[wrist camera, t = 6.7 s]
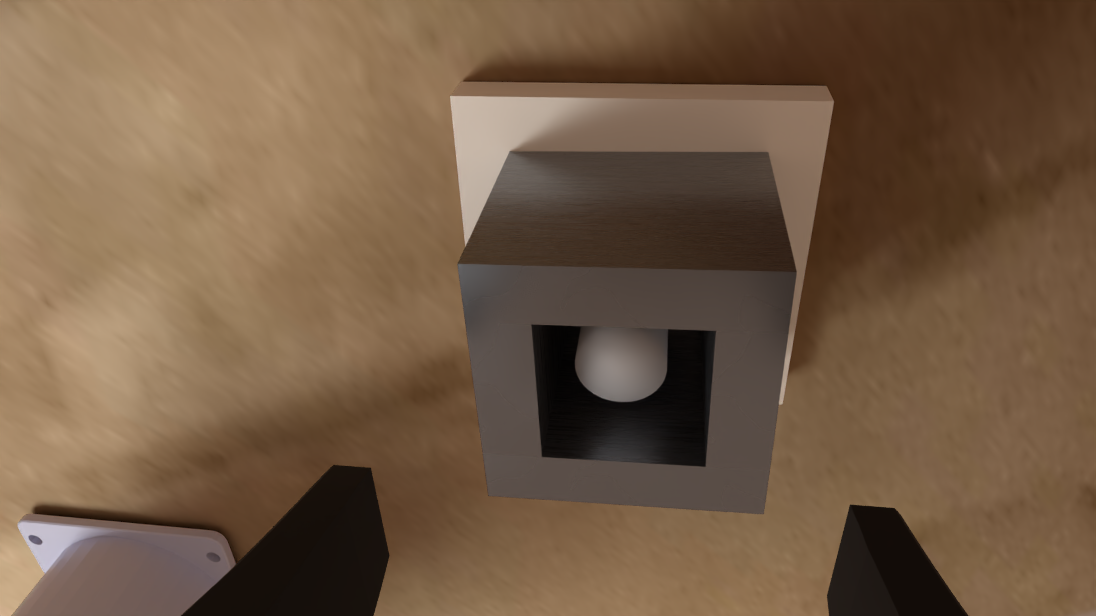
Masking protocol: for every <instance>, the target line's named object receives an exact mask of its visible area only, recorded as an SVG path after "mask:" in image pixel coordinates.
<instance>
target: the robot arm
mask: <svg viewBox="0 0 1096 616" xmlns="http://www.w3.org/2000/svg"><path fill="white" fill-rule="evenodd" d="M18 528H19V530H20V532H21V534H22V536H23V537H24V539H25V541H26V542H27V544H28V546H29V548H30V549H31V551H32V553H33V554H34V556H35V558H36V560H37V561H38V563H39V565H40V566H41V568H42V570H43V571H44V573H45V574H44V576H43V577H42V578H41V579H40V581H39V582H38V583H37V584H36V586H35V587H34V588H33V589H32V591H31V592H30V593H29V594H28V596H27V597H26V598H25V599H24V601H23V602H22V603H21V604H20V606H19V607H18V608H17V609H16V611H15V612H14V613H13V614H12V615H11V616H373V615H374V612H375V608H376V605H377V601H378V597H379V594H380V590H381V586H382V582H383V579H384V575H385V571H386V567H387V563H388V559H389V552H388V547H387V542H386V538H385V533H384V528H383V523H382V519H381V514H380V509H379V504H378V500H377V495H376V490H375V486H374V481H373V476H372V471H371V468H365V467H352V466H339V465H333V466H332V467H331V468H330V469H329V470H328V471H327V472H326V473H325V474H324V475H323V476H322V477H321V478H320V479H319V480H318V481H317V482H316V483H315V484H314V485H313V486H312V487H311V488H310V489H309V490H308V491H307V492H306V494H305V495H304V496H303V497H302V498H301V499H300V500H299V501H298V502H297V503H296V504H295V505H294V506H293V507H292V508H291V509H290V510H289V511H288V512H287V513H286V514H285V515H284V517H283V518H282V519H281V520H280V521H279V522H278V523H277V524H276V525H275V526H274V527H273V528H272V529H271V530H270V531H269V532H268V533H267V534H266V535H265V536H264V537H263V538H262V539H261V540H260V541H259V542H258V543H257V544H256V545H255V546H254V547H253V548H252V549H251V550H250V551H249V552H248V553H247V554H246V555H245V556H244V557H243V558H242V559H241V560H240V561H239V562H238V563H237V564H236V563H235V560H234V557H233V555H232V552H231V549H230V547H229V544H228V541H227V540H226V538H225V537H224V536H223V535H222V534H221V533H219V532H217V531H212V530H202V529H191V528H181V527H170V526H159V525H148V524H138V523H127V522H116V521H105V520H95V519H84V518H73V517H62V516H52V515H41V514H26V515H25V516H23V518H22V519H21V520H20V521H19V522H18ZM827 599H828V609H829V616H968V615H967V613H966V612H965V610H964V609H963V608H962V606H961V605H960V603H959V602H958V601H957V599H956V598H955V596H954V595H953V593H952V592H951V590H950V589H949V588H948V586H947V585H946V583H945V582H944V580H943V579H942V577H941V576H940V574H939V573H938V571H937V570H936V569H935V567H934V566H933V564H932V563H931V561H930V560H929V558H928V557H927V555H926V553H925V552H924V550H923V549H922V547H921V546H920V544H919V543H918V541H917V540H916V538H915V537H914V535H913V533H912V532H911V530H910V529H909V527H908V526H907V524H906V522H905V521H904V519H903V518H902V516H901V515H900V514H899V512H898V511H897V510H896V509H895V508H886V507H873V506H860V505H850V507H849V511H848V515H847V519H846V523H845V527H844V531H843V535H842V539H841V543H840V547H839V551H838V555H837V559H836V563H835V567H834V570H833V574H832V578H831V582H830V586H829V590H828V594H827Z"/></svg>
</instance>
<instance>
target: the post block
mask: <svg viewBox="0 0 1096 616" xmlns="http://www.w3.org/2000/svg"><path fill="white" fill-rule="evenodd" d="M450 100H451V110H452V119H453V129H454V139H455V149H456V159H457V169H458V178H459V188H460V198H461V208H462V218H463V228H464V238H465V247H466V244H467V242H468V240H469V238H470V236H471V234H472V232H473V229H474V227H475V225H476V223H477V221H478V219H479V216H480V214H481V212H482V210H483V208H484V206H485V203H486V201H487V199H488V197H489V195H490V193H491V190H492V188H493V186H494V184H495V182H496V180H497V177H498V175H499V173H500V171H501V169H502V167H503V165H504V162H505V160H506V158H507V156H508V154H509V152H510V151H578V152H768V153H769V157H770V161H771V165H772V169H773V174H774V178H775V182H776V186H777V190H778V195H779V199H780V203H781V207H782V211H783V216H784V220H785V224H786V228H787V232H788V237H789V241H790V245H791V249H792V253H793V258H794V262H795V266H796V270H797V275H796V283H795V290H794V297H793V304H792V312H791V319H790V326H789V334H788V341H787V348H786V355H785V363H784V370H783V377H782V385H781V392H780V399H779V404H783V399H784V393H785V387H786V381H787V375H788V369H789V363H790V358H791V352H792V346H793V340H794V334H795V328H796V322H797V316H798V311H799V305H800V299H801V293H802V287H803V281H804V275H805V269H806V264H807V258H808V252H809V246H810V240H811V234H812V228H813V222H814V217H815V211H816V205H817V199H818V193H819V187H820V181H821V175H822V170H823V164H824V158H825V152H826V146H827V140H828V134H829V128H830V123H831V117H832V111H833V105H834V100H833V98H832V96H831V94H830V92H829V90H828V88H827V86H794V85H709V84H625V83H540V82H460V83H459V85H458V86H457V87H456V89H455V90H454V91H453V93H452V94H451V95H450ZM667 348H668V329H649V328H621V327H592V326H581V329H580V335H579V340H578V346H577V351H576V357H575V370H576V373H577V376H578V378H579V380H580V381H581V383H582V384H583V385H584V386H585V387H586V388H587V389H588V390H589V391H590V392H592V393H593V394H595V395H597V396H599V397H601V398H603V399H606V400H610V401H616V402H632V401H637V400H640V399H643V398H645V397H648V396H649V395H651V394H652V393H654V392H655V391H656V390H657V389H658V388H659V387H660V386H661V384H662V383H663V381H664V379H665V377H666V373H667Z"/></svg>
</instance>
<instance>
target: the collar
mask: <svg viewBox="0 0 1096 616" xmlns="http://www.w3.org/2000/svg"><path fill="white" fill-rule="evenodd" d="M458 272H459V279H460V287H461V294H462V302H463V309H464V317H465V324H466V332H467V339H468V346H469V354H470V361H471V369H472V376H473V384H474V391H475V399H476V406H477V414H478V421H479V429H480V436H481V444H482V451H483V459H484V466H485V474H486V481H487V489H488V496H499V497H513V498H528V499H543V500H558V501H573V502H588V503H603V504H618V505H633V506H648V507H663V508H678V509H692V510H707V511H722V512H737V513H752V514H764V508H765V501H766V494H767V486H768V479H769V472H770V465H771V457H772V450H773V443H774V435H775V428H776V421H777V414H778V406H779V399H780V392H781V385H782V377H783V370H784V363H785V355H786V348H787V341H788V334H789V326H790V319H791V312H792V304H793V297H794V290H795V283H796V275H797V270H796V266H795V262H794V258H793V253H792V249H791V245H790V241H789V237H788V232H787V228H786V224H785V220H784V216H783V211H782V207H781V203H780V199H779V195H778V190H777V186H776V182H775V178H774V174H773V169H772V165H771V161H770V157H769V153H768V152H578V151H510V152H509V154H508V156H507V158H506V160H505V162H504V165H503V167H502V169H501V171H500V173H499V175H498V177H497V180H496V182H495V184H494V186H493V188H492V190H491V193H490V195H489V197H488V199H487V201H486V203H485V206H484V208H483V210H482V212H481V214H480V216H479V219H478V221H477V223H476V225H475V227H474V229H473V232H472V234H471V236H470V238H469V240H468V242H467V244H466V247H465V249H464V251H463V253H462V255H461V257H460V260H459V262H458ZM581 326H592V327H621V328H649V329H668V348H667V373H666V377H665V379H664V381H663V383H662V384H661V386H660V387H659V388H658V389H657V390H656V391H655V392H654V393H652V394H651V395H649V396H648V397H645V398H643V399H640V400H637V401H632V402H616V401H610V400H606V399H603V398H601V397H599V396H597V395H595V394H593V393H592V392H590V391H589V390H588V389H587V388H586V387H585V386H584V385H583V384H582V383H581V381H580V380H579V378H578V376H577V373H576V370H575V357H576V351H577V346H578V340H579V335H580V329H581Z"/></svg>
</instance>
